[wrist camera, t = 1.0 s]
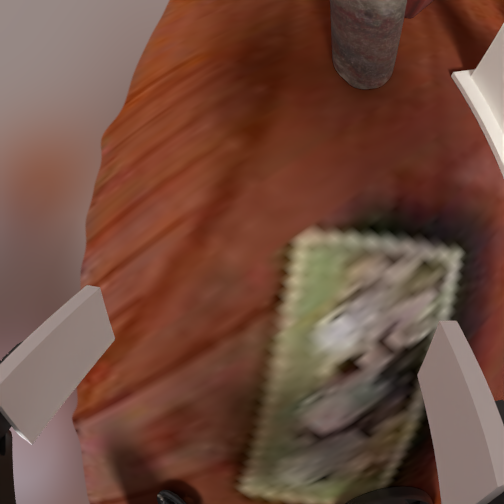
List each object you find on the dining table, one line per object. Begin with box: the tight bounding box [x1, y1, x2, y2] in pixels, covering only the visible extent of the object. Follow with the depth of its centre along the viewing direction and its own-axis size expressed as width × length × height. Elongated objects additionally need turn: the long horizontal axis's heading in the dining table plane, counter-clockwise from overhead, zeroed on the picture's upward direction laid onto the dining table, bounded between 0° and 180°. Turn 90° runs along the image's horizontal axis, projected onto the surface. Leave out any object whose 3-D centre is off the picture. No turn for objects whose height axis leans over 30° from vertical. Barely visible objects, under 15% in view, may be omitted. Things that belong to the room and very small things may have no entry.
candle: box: [330, 0, 407, 89], centre depth 20 cm, size 8×7×20 cm
